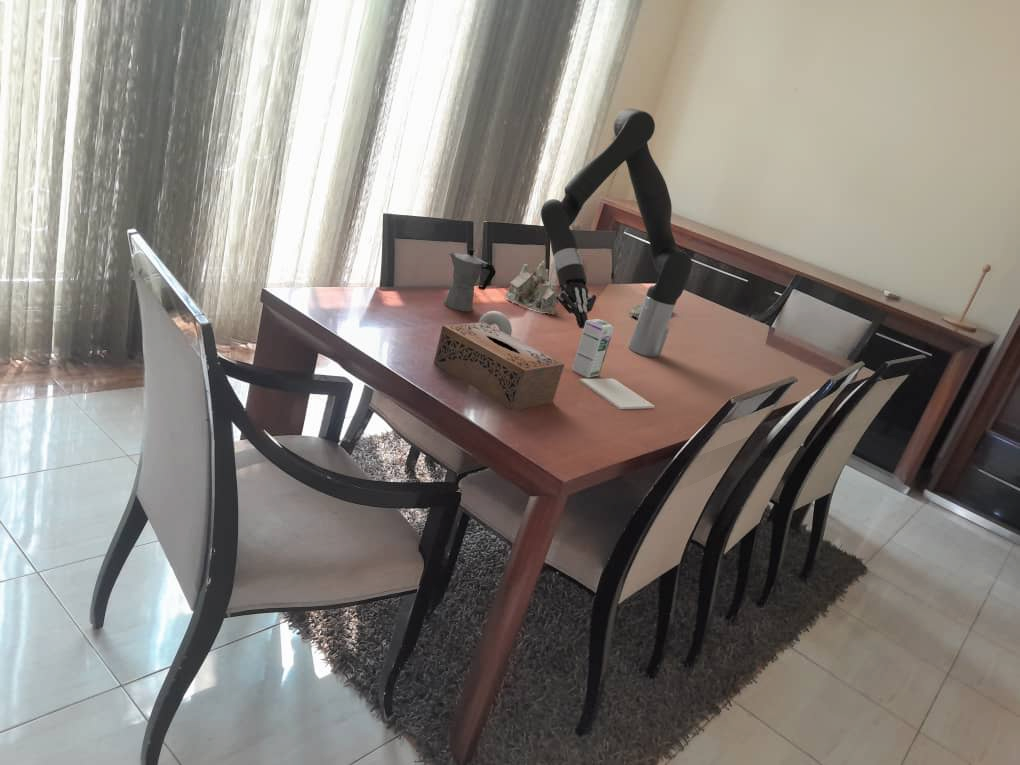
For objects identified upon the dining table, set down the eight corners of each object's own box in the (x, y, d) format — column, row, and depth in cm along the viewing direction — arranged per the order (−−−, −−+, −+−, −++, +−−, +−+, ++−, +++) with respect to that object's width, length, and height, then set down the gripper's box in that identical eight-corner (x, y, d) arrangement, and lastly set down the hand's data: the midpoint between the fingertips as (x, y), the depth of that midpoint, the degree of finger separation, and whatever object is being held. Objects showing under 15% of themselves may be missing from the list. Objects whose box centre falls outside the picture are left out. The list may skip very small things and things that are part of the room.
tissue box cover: (552, 403, 172) (564, 363, 169) (513, 412, 161) (525, 370, 158) (474, 359, 186) (483, 321, 183) (433, 364, 175) (442, 325, 172)
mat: (579, 380, 191) (580, 378, 191) (612, 380, 198) (613, 378, 198) (619, 409, 179) (620, 407, 179) (653, 408, 186) (654, 405, 186)
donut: (471, 341, 198) (480, 306, 194) (477, 339, 201) (487, 304, 197) (502, 355, 194) (512, 319, 190) (508, 353, 197) (518, 318, 193)
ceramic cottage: (500, 293, 253) (514, 252, 247) (543, 302, 259) (557, 262, 253) (513, 311, 240) (527, 268, 234) (558, 320, 246) (573, 279, 240)
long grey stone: (676, 317, 297) (653, 310, 301) (680, 305, 296) (657, 298, 300) (647, 323, 267) (622, 315, 271) (652, 309, 265) (626, 301, 270)
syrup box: (588, 378, 194) (605, 327, 189) (570, 369, 197) (586, 318, 192) (599, 375, 199) (615, 325, 194) (581, 367, 202) (597, 317, 197)
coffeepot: (432, 301, 222) (445, 243, 216) (445, 297, 231) (458, 241, 225) (478, 318, 219) (493, 260, 212) (489, 313, 227) (504, 256, 221)
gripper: (559, 260, 196) (574, 320, 191) (596, 264, 204) (611, 322, 199) (542, 272, 202) (556, 331, 197) (579, 276, 210) (593, 333, 205)
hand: (584, 327), depth 198 cm, fingers closed
